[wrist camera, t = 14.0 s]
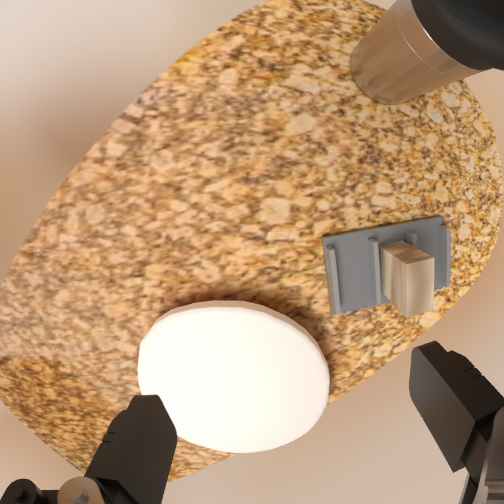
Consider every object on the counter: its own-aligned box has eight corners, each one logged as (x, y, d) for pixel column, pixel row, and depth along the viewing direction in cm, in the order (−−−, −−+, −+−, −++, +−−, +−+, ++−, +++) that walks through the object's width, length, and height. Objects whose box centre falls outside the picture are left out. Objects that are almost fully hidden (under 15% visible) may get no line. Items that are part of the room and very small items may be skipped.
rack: (438, 215, 35) (450, 219, 32) (439, 285, 38) (450, 292, 35) (321, 236, 36) (326, 242, 33) (330, 311, 39) (335, 321, 36)
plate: (341, 441, 39) (181, 464, 42) (333, 412, 46) (186, 436, 48) (318, 293, 30) (92, 340, 32) (307, 267, 36) (110, 313, 38)
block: (402, 240, 35) (434, 257, 27) (403, 284, 36) (432, 309, 29) (377, 245, 35) (405, 264, 27) (380, 290, 37) (406, 317, 29)
